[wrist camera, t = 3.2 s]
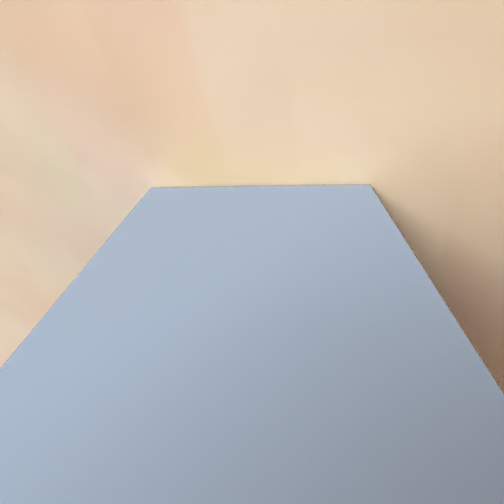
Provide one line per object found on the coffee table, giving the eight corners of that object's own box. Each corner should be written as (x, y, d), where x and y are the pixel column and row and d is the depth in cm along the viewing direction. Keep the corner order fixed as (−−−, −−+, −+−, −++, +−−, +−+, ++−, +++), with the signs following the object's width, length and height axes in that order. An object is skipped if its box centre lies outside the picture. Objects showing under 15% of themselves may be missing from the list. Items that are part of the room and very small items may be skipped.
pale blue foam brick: (341, 333, 10) (417, 679, 5) (186, 330, 10) (90, 645, 5) (369, 184, 7) (686, 679, 2) (150, 187, 7) (-183, 589, 2)
